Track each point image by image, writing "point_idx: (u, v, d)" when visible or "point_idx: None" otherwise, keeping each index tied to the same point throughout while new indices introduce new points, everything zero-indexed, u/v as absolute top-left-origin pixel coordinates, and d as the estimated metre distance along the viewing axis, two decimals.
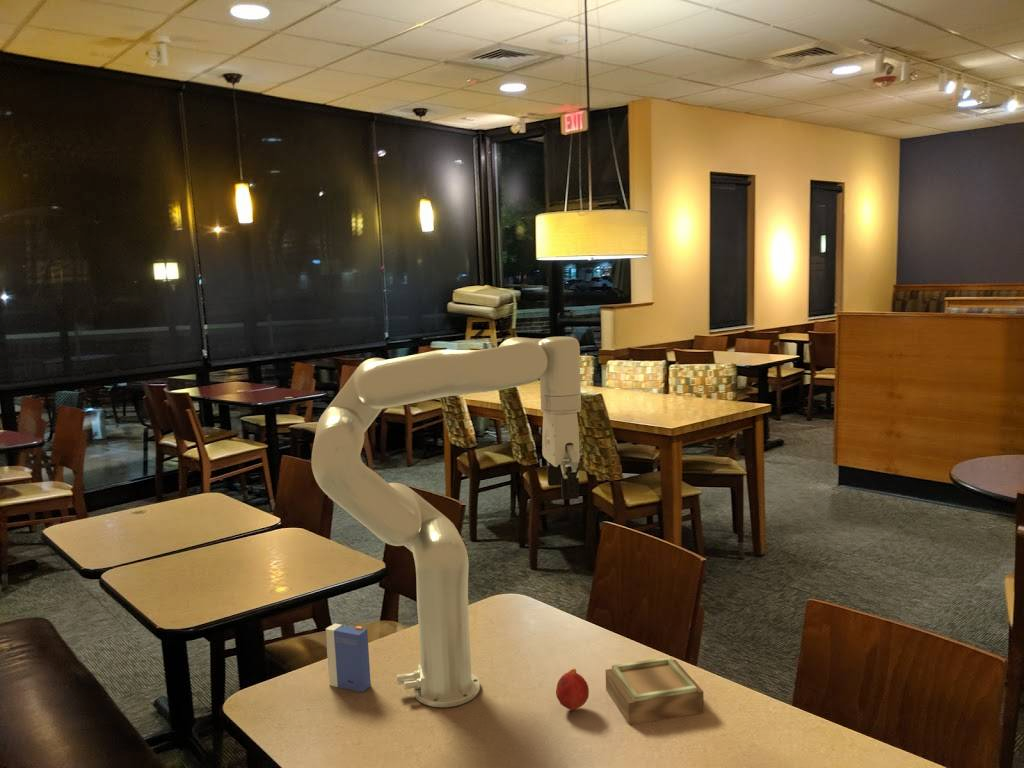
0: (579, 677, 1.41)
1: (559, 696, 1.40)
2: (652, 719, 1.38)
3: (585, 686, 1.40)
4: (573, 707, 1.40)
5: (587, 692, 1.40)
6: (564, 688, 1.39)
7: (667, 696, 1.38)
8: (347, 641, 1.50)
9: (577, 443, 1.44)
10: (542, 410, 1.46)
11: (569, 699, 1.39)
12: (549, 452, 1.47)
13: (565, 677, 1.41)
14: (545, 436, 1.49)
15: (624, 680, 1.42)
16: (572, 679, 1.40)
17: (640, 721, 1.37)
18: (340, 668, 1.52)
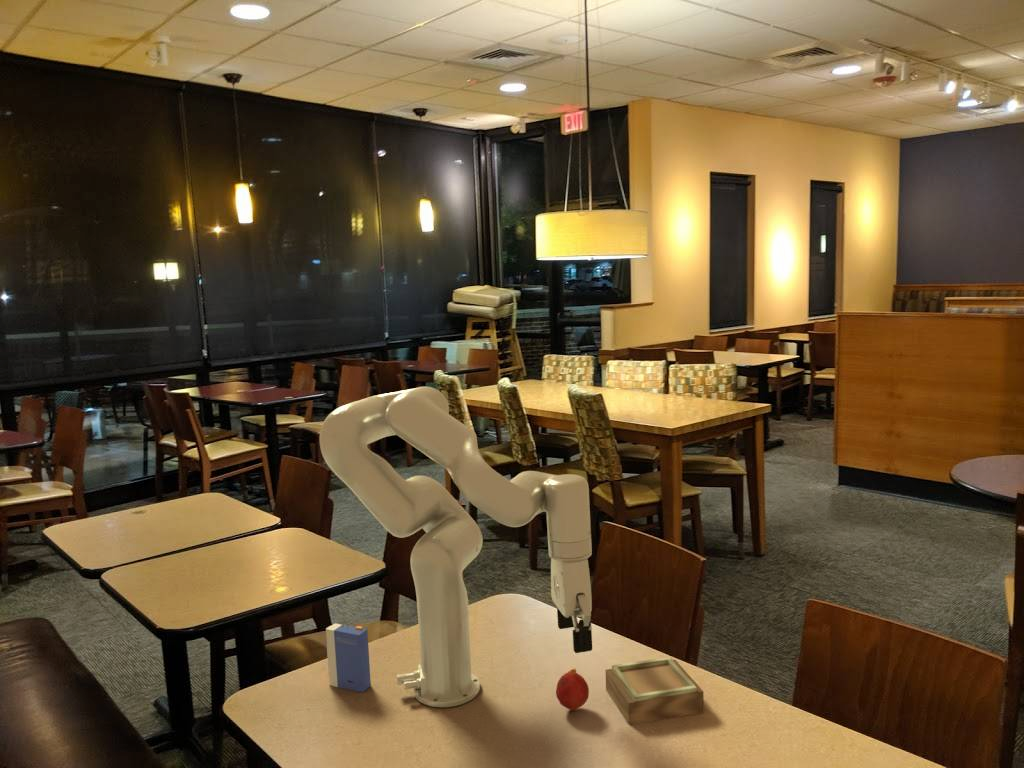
0: (579, 677, 1.41)
1: (559, 696, 1.40)
2: (652, 719, 1.38)
3: (585, 686, 1.40)
4: (573, 707, 1.40)
5: (587, 692, 1.40)
6: (564, 688, 1.39)
7: (667, 696, 1.38)
8: (347, 641, 1.50)
9: (589, 592, 1.34)
10: (550, 555, 1.37)
11: (569, 699, 1.39)
12: (559, 600, 1.37)
13: (565, 677, 1.41)
14: (554, 580, 1.39)
15: (624, 680, 1.42)
16: (572, 679, 1.40)
17: (640, 721, 1.37)
18: (340, 668, 1.52)
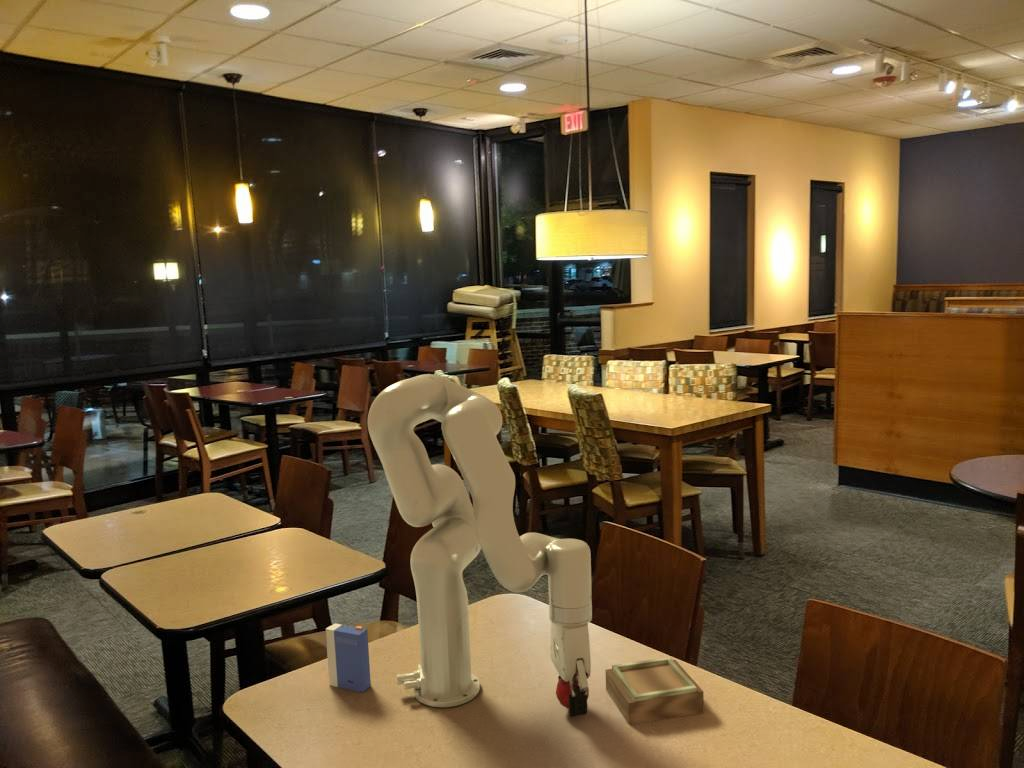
0: None
1: (559, 696, 1.40)
2: (652, 719, 1.38)
3: None
4: None
5: (587, 692, 1.40)
6: (564, 688, 1.39)
7: (667, 696, 1.38)
8: (347, 641, 1.50)
9: (588, 657, 1.36)
10: (551, 619, 1.38)
11: None
12: (558, 663, 1.39)
13: None
14: (554, 642, 1.41)
15: (624, 680, 1.42)
16: None
17: (640, 721, 1.37)
18: (340, 668, 1.52)
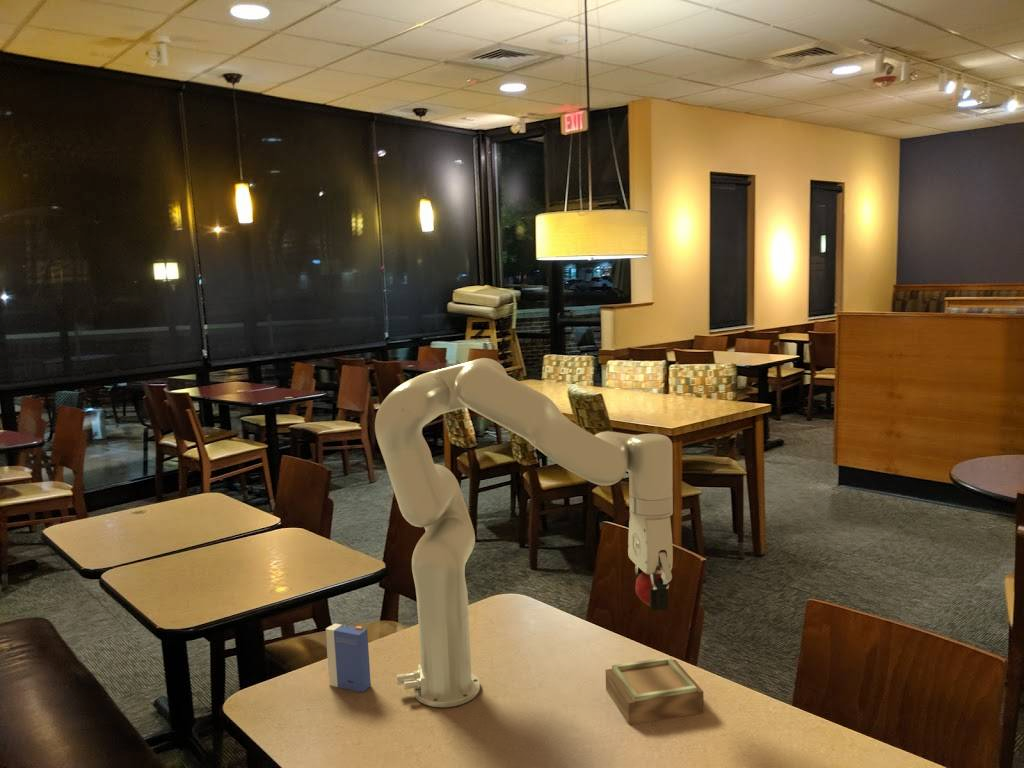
0: None
1: (639, 591, 1.40)
2: (652, 719, 1.38)
3: None
4: None
5: None
6: (644, 583, 1.39)
7: (667, 696, 1.38)
8: (347, 641, 1.50)
9: (670, 550, 1.36)
10: (632, 513, 1.38)
11: None
12: (639, 557, 1.38)
13: None
14: (633, 538, 1.41)
15: (624, 680, 1.42)
16: None
17: (640, 721, 1.37)
18: (340, 668, 1.52)
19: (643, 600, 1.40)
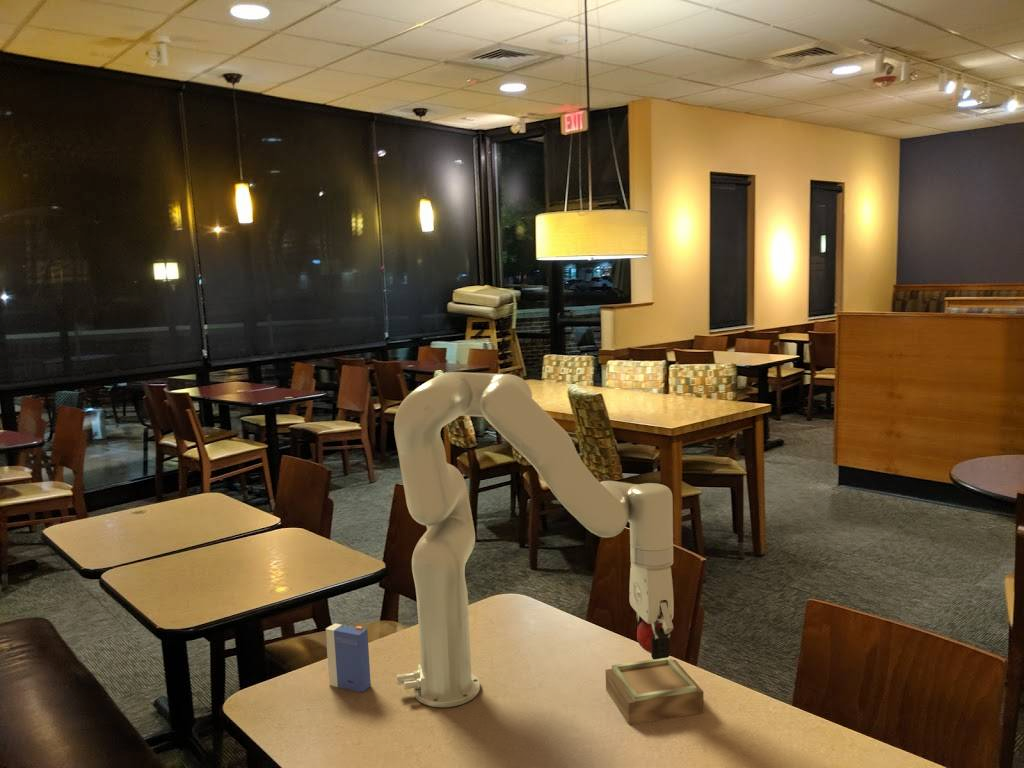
0: None
1: (641, 639, 1.41)
2: (652, 719, 1.38)
3: None
4: None
5: None
6: (646, 631, 1.40)
7: (667, 696, 1.38)
8: (347, 641, 1.50)
9: (671, 600, 1.37)
10: (633, 562, 1.39)
11: None
12: (640, 606, 1.40)
13: None
14: (634, 587, 1.42)
15: (624, 680, 1.42)
16: None
17: (640, 721, 1.37)
18: (340, 668, 1.52)
19: (645, 648, 1.41)
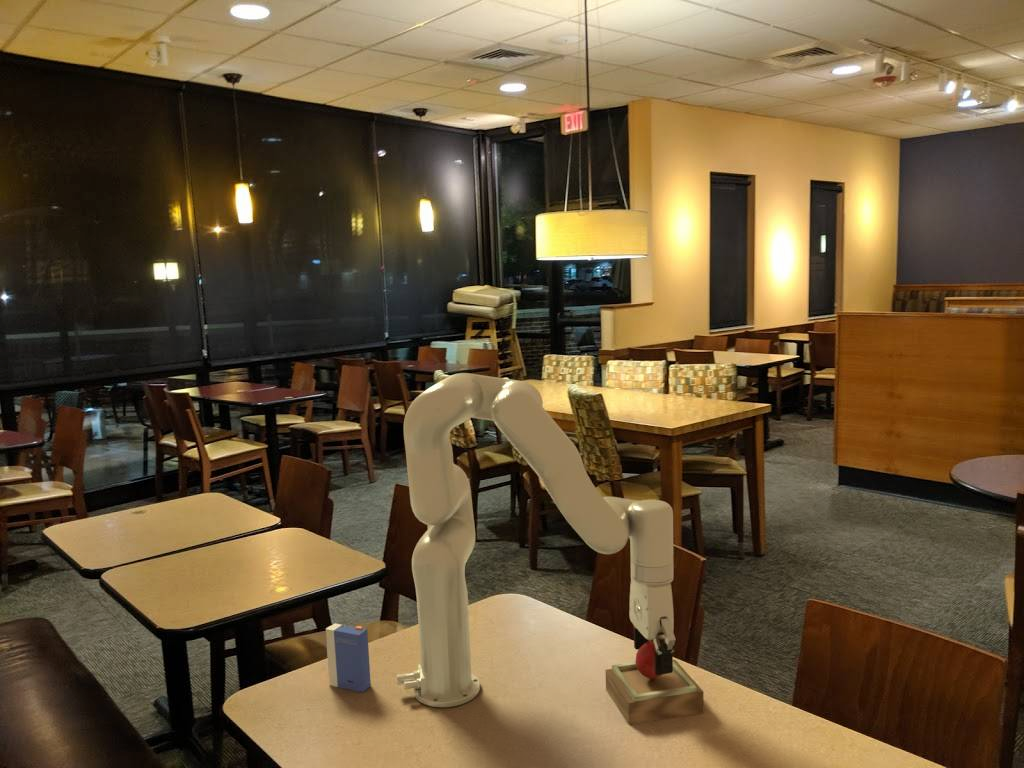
0: None
1: (639, 665, 1.42)
2: (652, 719, 1.38)
3: None
4: (653, 676, 1.41)
5: None
6: (644, 657, 1.41)
7: (667, 696, 1.38)
8: (347, 641, 1.50)
9: (671, 616, 1.37)
10: (633, 579, 1.40)
11: (650, 668, 1.41)
12: (640, 622, 1.40)
13: (645, 646, 1.42)
14: (634, 603, 1.42)
15: (624, 680, 1.42)
16: (652, 649, 1.41)
17: (640, 721, 1.37)
18: (340, 668, 1.52)
19: (643, 674, 1.42)
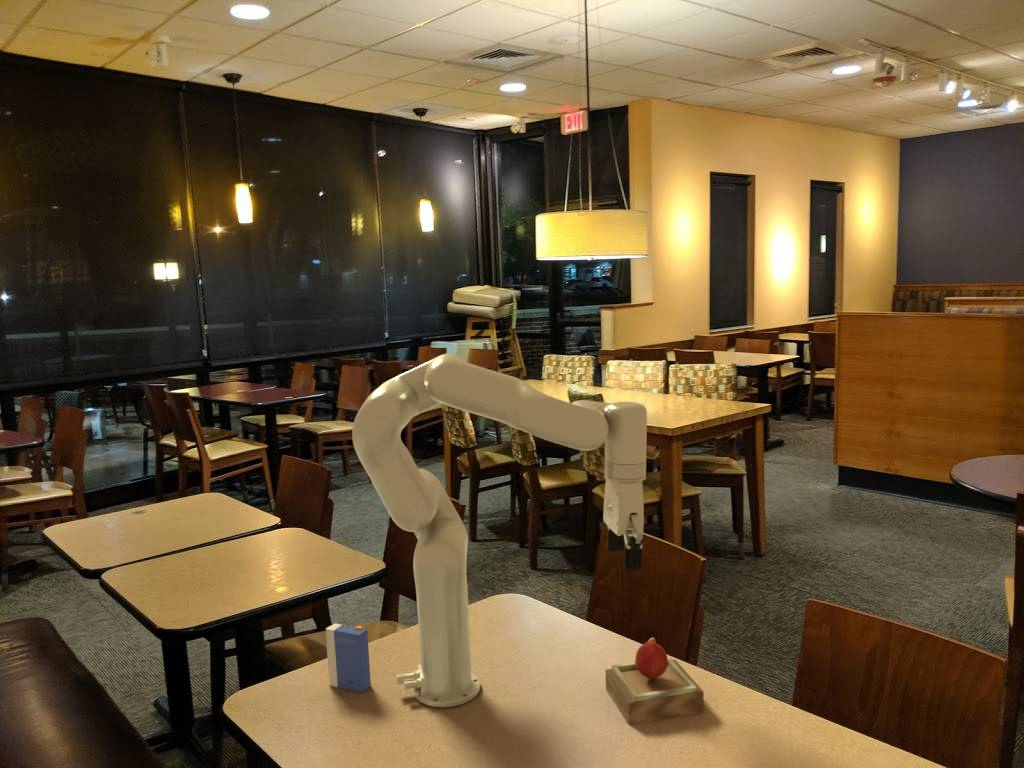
0: (658, 646, 1.42)
1: (639, 665, 1.42)
2: (652, 719, 1.38)
3: (665, 655, 1.42)
4: (653, 676, 1.41)
5: (667, 661, 1.42)
6: (644, 657, 1.41)
7: (667, 696, 1.38)
8: (347, 641, 1.50)
9: (641, 513, 1.41)
10: (606, 477, 1.44)
11: (650, 668, 1.41)
12: (612, 520, 1.44)
13: (644, 646, 1.42)
14: (607, 502, 1.46)
15: (624, 680, 1.42)
16: (652, 648, 1.42)
17: (640, 721, 1.37)
18: (340, 668, 1.52)
19: (643, 674, 1.42)
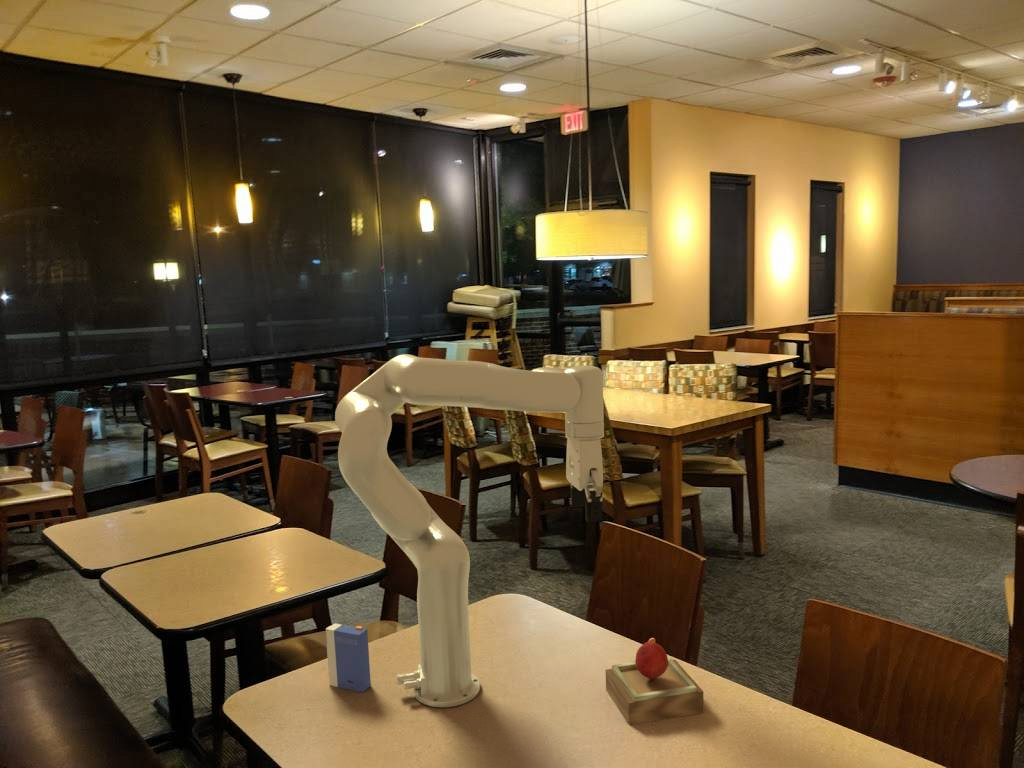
0: (659, 647, 1.42)
1: (639, 665, 1.42)
2: (652, 719, 1.38)
3: (665, 655, 1.42)
4: (653, 676, 1.41)
5: (667, 661, 1.42)
6: (644, 657, 1.41)
7: (667, 696, 1.38)
8: (347, 641, 1.50)
9: (601, 468, 1.51)
10: (567, 436, 1.54)
11: (650, 668, 1.41)
12: (573, 476, 1.54)
13: (644, 646, 1.42)
14: (569, 460, 1.56)
15: (624, 680, 1.42)
16: (652, 648, 1.42)
17: (640, 721, 1.37)
18: (340, 668, 1.52)
19: (643, 674, 1.42)
